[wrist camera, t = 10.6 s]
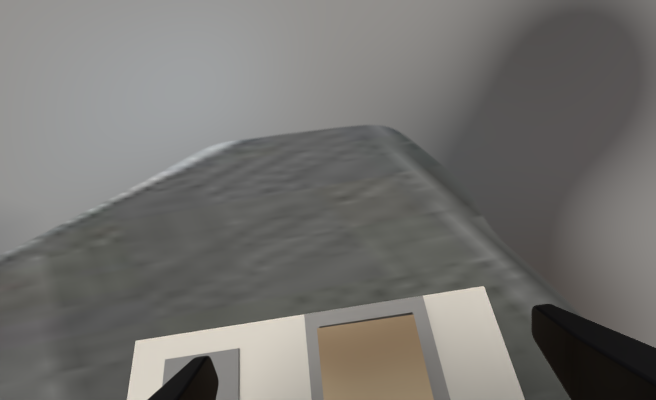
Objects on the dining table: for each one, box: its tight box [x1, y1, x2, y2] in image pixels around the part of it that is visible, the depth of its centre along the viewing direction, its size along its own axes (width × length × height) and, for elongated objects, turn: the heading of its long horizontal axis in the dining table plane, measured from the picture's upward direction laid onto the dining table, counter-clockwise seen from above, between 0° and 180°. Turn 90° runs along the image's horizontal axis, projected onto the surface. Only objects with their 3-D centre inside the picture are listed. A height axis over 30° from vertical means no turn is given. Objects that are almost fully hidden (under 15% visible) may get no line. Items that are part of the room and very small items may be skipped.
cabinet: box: [127, 286, 525, 400], centre depth 18 cm, size 9×24×4 cm, turn 98°
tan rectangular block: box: [317, 314, 434, 400], centre depth 14 cm, size 4×3×10 cm
